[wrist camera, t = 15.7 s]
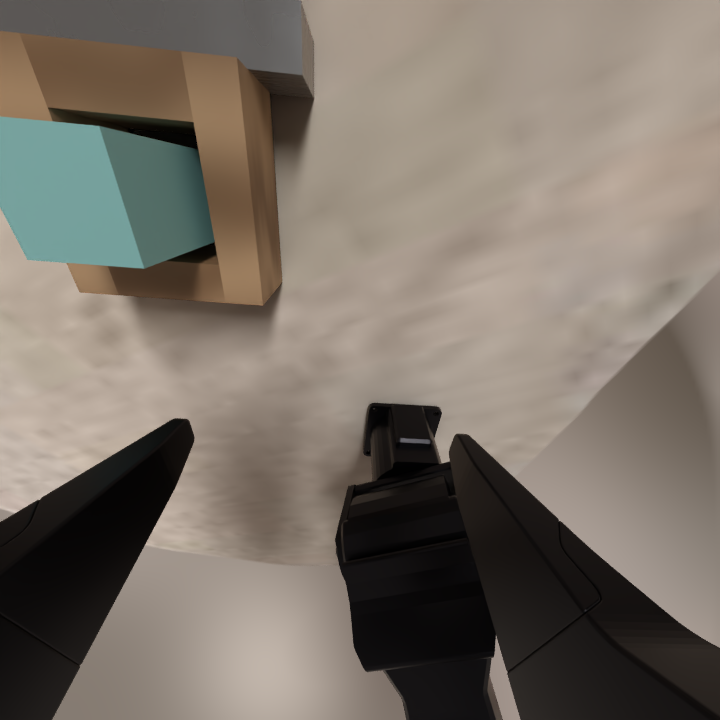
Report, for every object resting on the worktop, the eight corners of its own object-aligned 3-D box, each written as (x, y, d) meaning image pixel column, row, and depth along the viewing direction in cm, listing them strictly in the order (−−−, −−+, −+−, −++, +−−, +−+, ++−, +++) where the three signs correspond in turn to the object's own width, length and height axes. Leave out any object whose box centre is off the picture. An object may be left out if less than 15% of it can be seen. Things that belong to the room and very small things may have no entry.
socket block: (282, 281, 19) (263, 305, 15) (136, 270, 19) (79, 292, 15) (269, 92, 14) (236, 57, 10) (70, 71, 14) (-41, 26, 10)
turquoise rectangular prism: (236, 233, 18) (144, 268, 10) (171, 228, 18) (27, 259, 10) (225, 156, 16) (98, 125, 8) (152, 149, 16) (-50, 111, 8)
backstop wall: (314, 98, 14) (302, 74, 11) (27, 67, 14) (-64, 34, 11) (313, 42, 13) (301, 0, 10) (4, 6, 13) (-105, -49, 10)
